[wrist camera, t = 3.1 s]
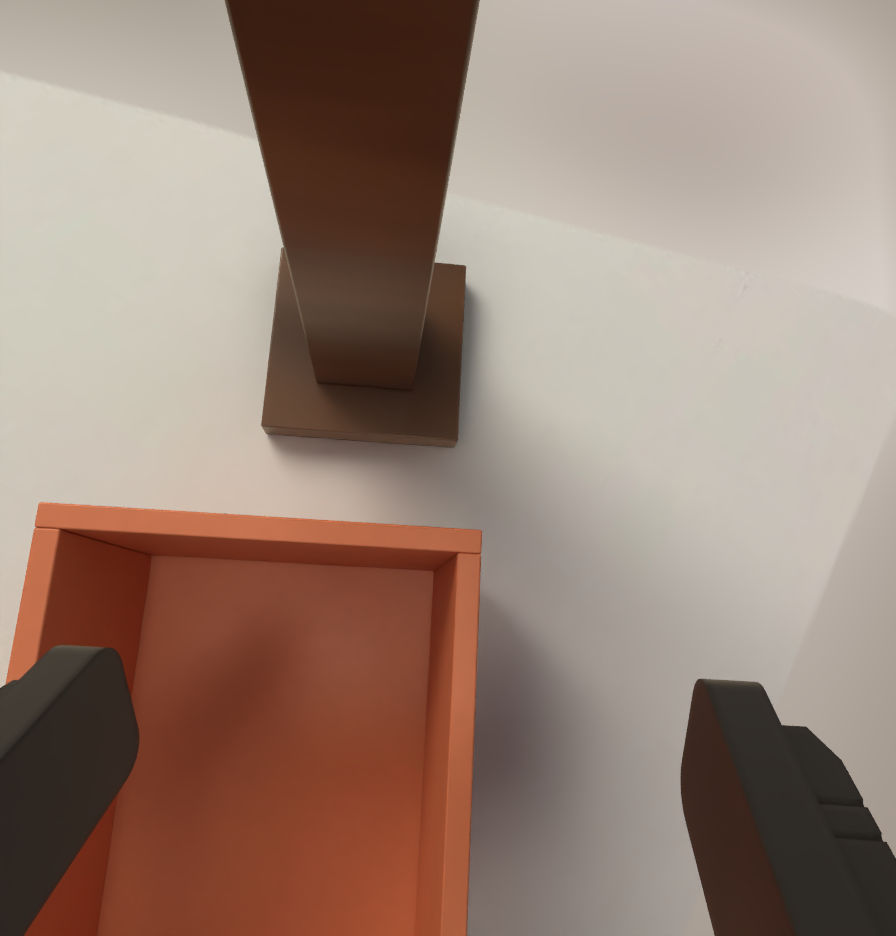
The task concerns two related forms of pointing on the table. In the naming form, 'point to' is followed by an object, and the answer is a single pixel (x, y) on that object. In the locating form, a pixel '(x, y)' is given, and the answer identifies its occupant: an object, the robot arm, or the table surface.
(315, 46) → the stand
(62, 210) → the table surface
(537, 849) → the table surface
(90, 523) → the bin
